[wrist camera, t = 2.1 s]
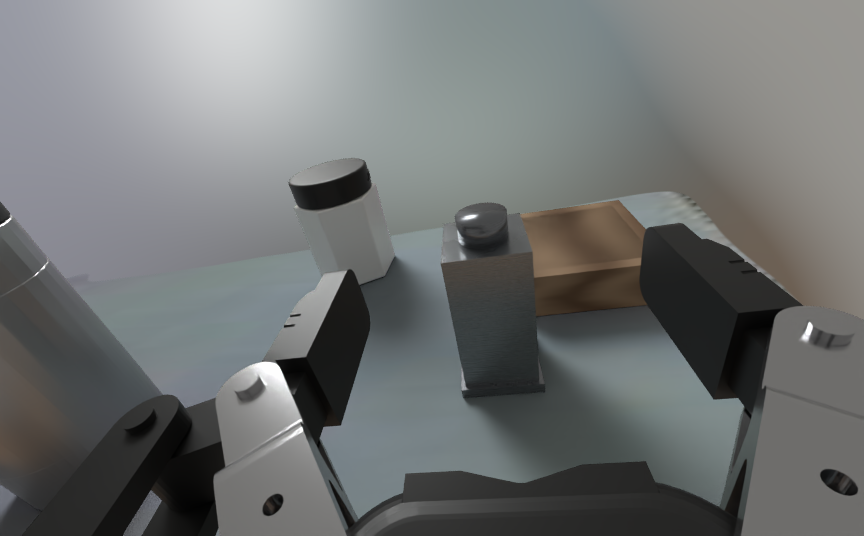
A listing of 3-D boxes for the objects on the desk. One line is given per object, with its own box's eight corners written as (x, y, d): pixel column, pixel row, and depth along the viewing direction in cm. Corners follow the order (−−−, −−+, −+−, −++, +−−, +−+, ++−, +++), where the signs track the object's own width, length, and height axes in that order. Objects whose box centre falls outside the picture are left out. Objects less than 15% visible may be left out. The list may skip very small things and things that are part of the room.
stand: (517, 318, 32) (514, 280, 30) (503, 249, 42) (500, 217, 40) (667, 302, 30) (675, 261, 28) (615, 234, 40) (618, 200, 38)
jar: (409, 258, 44) (384, 159, 38) (358, 296, 40) (319, 189, 33) (362, 245, 50) (333, 156, 44) (311, 276, 45) (271, 181, 39)
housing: (463, 397, 26) (429, 243, 20) (462, 341, 31) (435, 202, 24) (545, 391, 25) (538, 228, 19) (531, 335, 30) (522, 188, 24)
